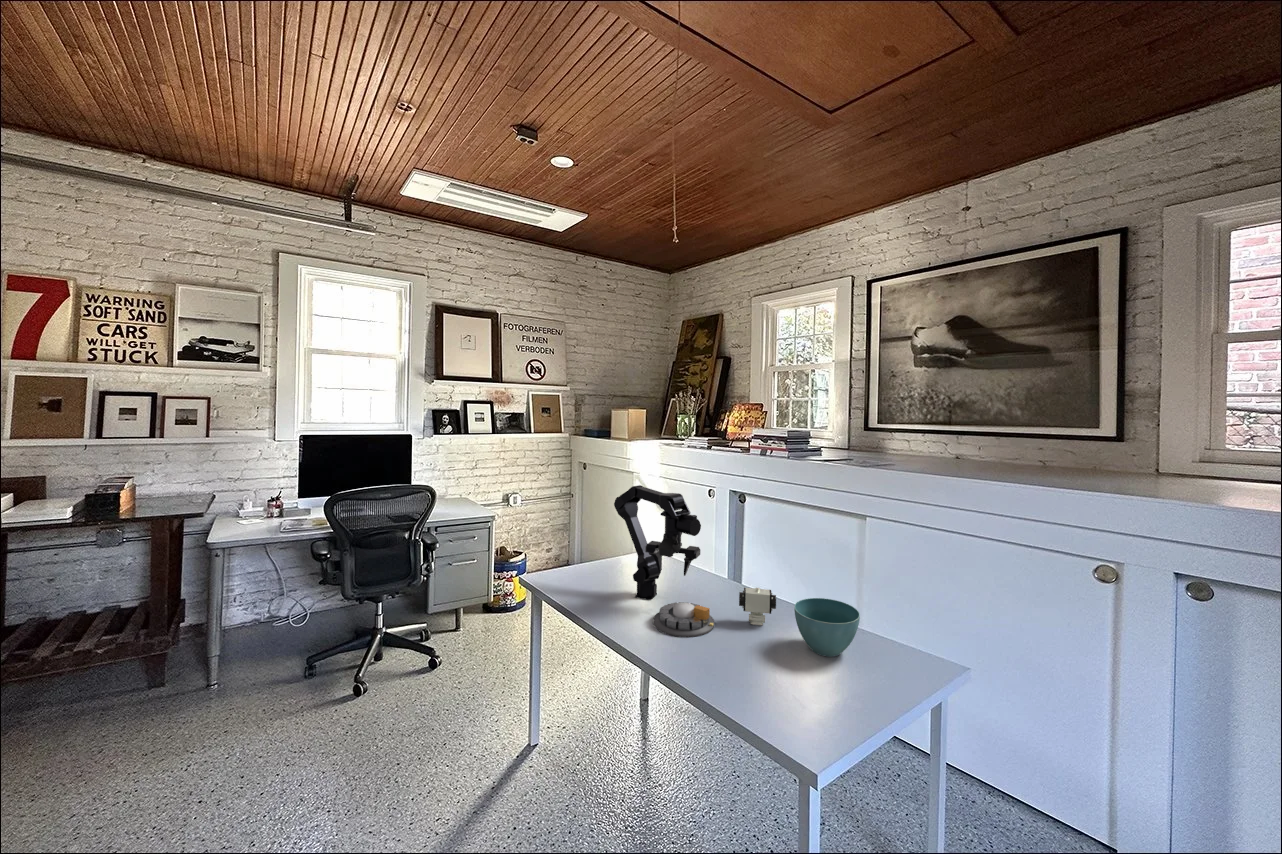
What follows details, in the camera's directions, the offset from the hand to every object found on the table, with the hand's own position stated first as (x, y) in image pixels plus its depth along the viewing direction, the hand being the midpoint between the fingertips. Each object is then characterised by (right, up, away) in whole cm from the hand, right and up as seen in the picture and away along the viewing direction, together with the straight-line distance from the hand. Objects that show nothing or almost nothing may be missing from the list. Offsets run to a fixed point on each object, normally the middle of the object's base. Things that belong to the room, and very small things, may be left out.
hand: (672, 573), depth 186 cm
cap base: (+3, -13, -12) cm, 18 cm away
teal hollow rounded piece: (+43, -15, -29) cm, 55 cm away
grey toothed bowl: (+3, -12, -13) cm, 17 cm away
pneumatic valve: (+27, -13, -12) cm, 32 cm away
